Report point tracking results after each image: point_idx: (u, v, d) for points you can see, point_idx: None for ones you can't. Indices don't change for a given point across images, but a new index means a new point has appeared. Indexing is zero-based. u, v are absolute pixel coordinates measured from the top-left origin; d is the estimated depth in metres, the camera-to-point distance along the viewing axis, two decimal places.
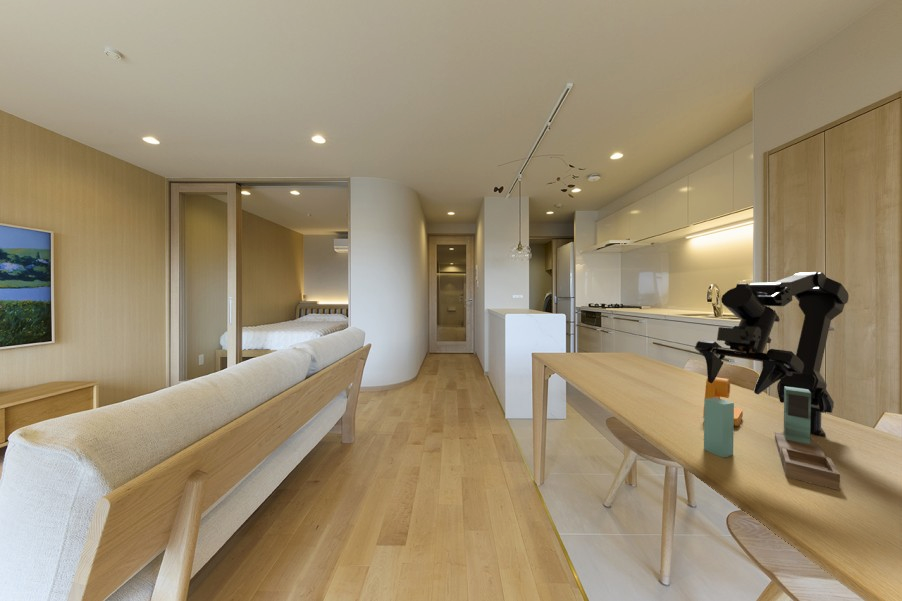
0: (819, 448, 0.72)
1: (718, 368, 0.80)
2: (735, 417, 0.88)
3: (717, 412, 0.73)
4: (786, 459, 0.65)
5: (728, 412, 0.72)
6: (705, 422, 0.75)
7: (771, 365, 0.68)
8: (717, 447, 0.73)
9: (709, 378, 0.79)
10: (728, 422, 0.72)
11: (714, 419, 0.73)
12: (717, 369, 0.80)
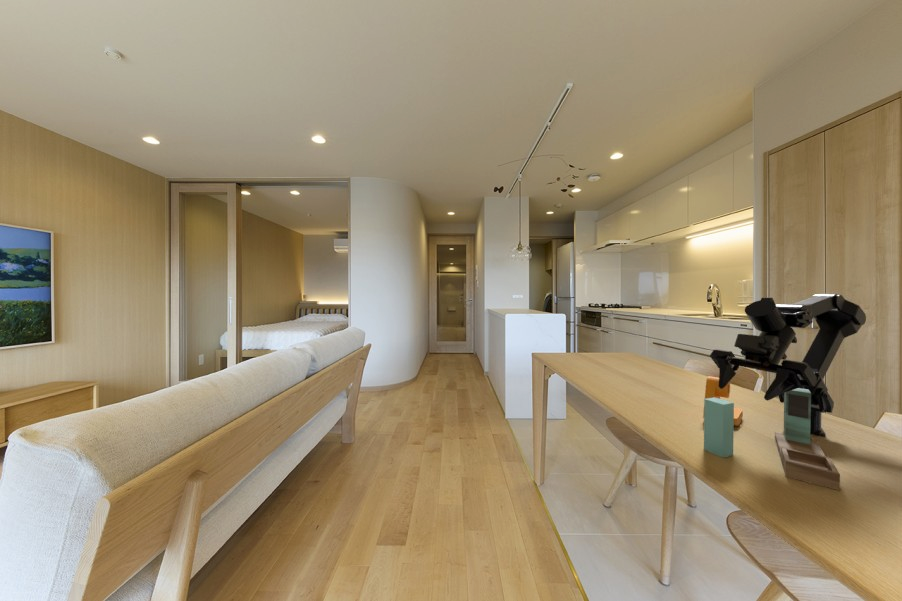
0: (819, 448, 0.72)
1: (730, 377, 0.82)
2: (735, 417, 0.88)
3: (717, 412, 0.73)
4: (786, 459, 0.65)
5: (728, 412, 0.72)
6: (705, 422, 0.75)
7: (784, 374, 0.71)
8: (717, 447, 0.73)
9: (720, 383, 0.81)
10: (728, 422, 0.72)
11: (714, 419, 0.73)
12: (729, 377, 0.82)
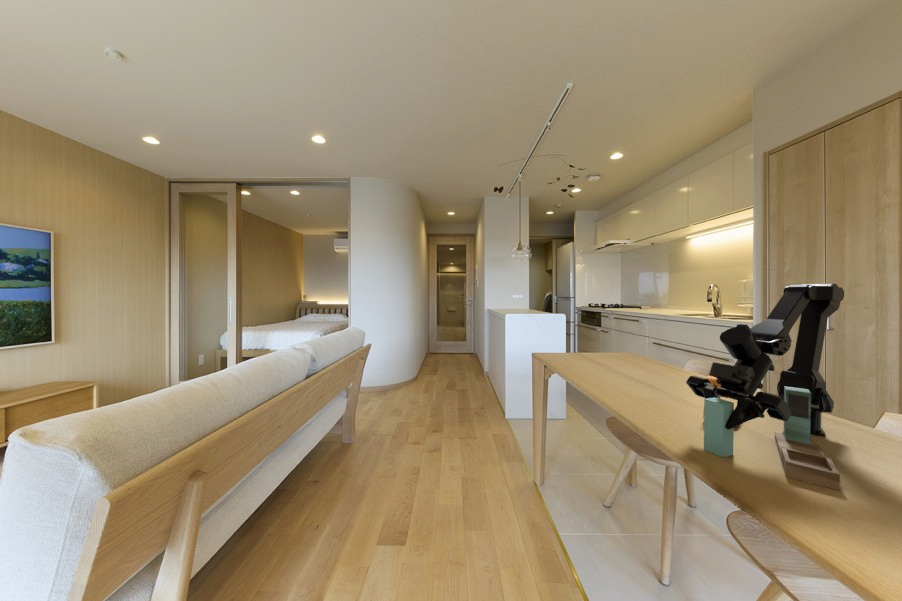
0: (819, 448, 0.72)
1: None
2: None
3: (717, 412, 0.73)
4: (786, 459, 0.65)
5: (728, 412, 0.72)
6: (705, 422, 0.75)
7: (744, 403, 0.71)
8: (717, 447, 0.73)
9: None
10: None
11: (714, 419, 0.73)
12: None
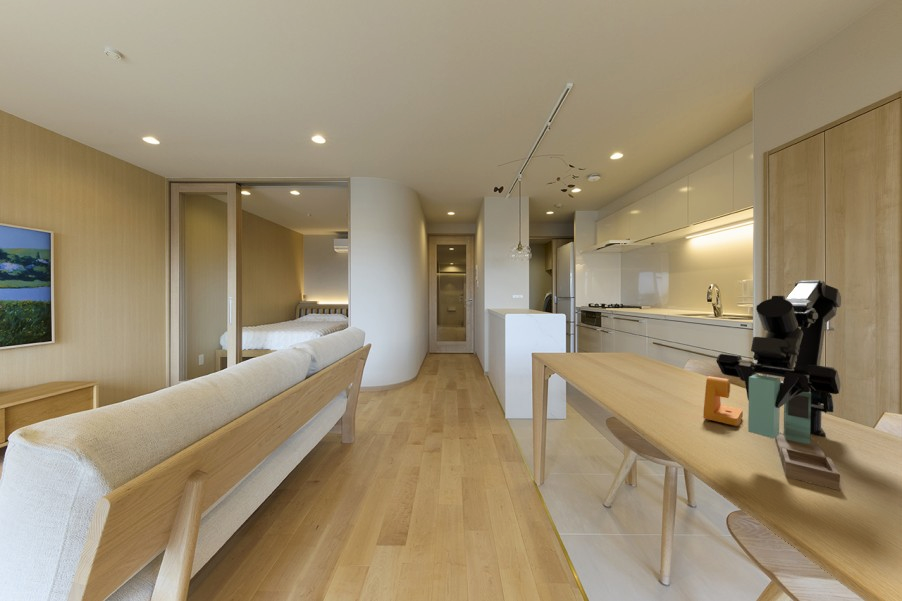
0: (819, 448, 0.72)
1: None
2: (735, 417, 0.88)
3: (766, 390, 0.67)
4: (786, 459, 0.65)
5: (777, 389, 0.67)
6: (750, 402, 0.69)
7: (794, 378, 0.66)
8: (766, 428, 0.67)
9: None
10: None
11: (762, 398, 0.67)
12: None
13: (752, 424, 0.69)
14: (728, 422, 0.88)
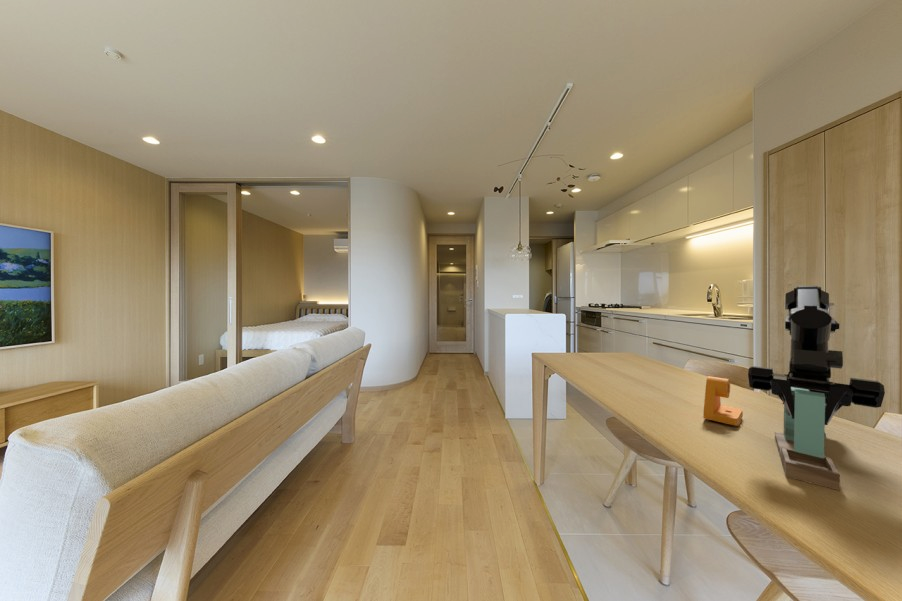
0: None
1: None
2: (735, 417, 0.88)
3: (815, 407, 0.63)
4: (786, 459, 0.65)
5: None
6: (796, 419, 0.65)
7: (840, 393, 0.63)
8: (815, 447, 0.63)
9: (793, 412, 0.66)
10: None
11: (810, 415, 0.63)
12: None
13: (798, 443, 0.65)
14: (728, 422, 0.88)
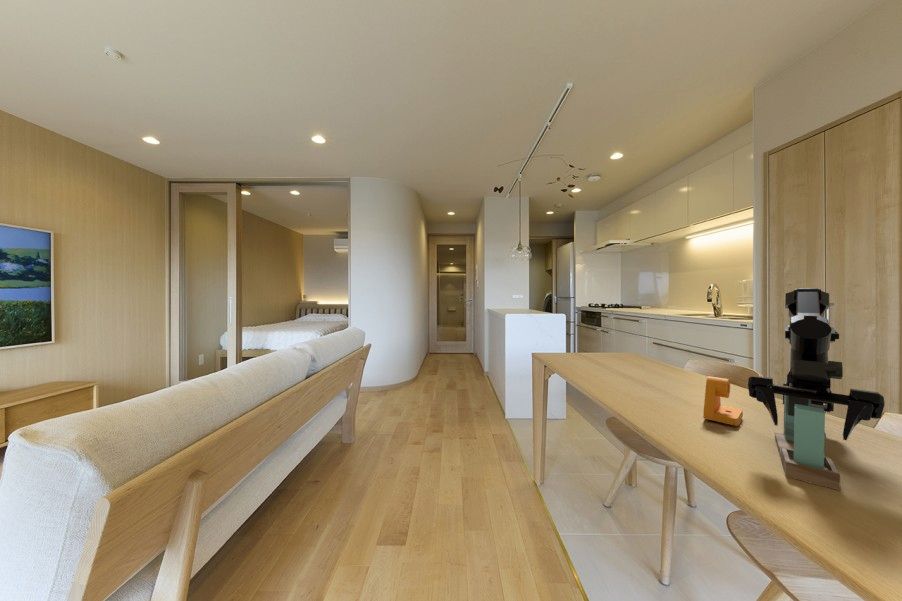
0: None
1: None
2: (735, 417, 0.87)
3: (815, 422, 0.63)
4: (786, 459, 0.65)
5: None
6: (796, 435, 0.65)
7: (860, 407, 0.61)
8: (815, 463, 0.63)
9: (776, 419, 0.68)
10: None
11: (810, 431, 0.63)
12: None
13: (798, 458, 0.65)
14: (728, 422, 0.88)
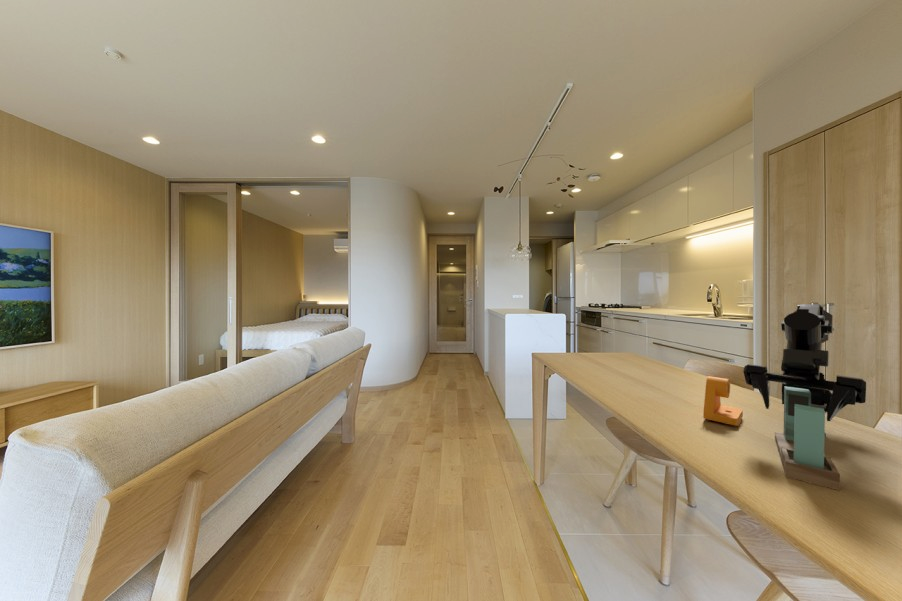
0: None
1: (768, 394, 0.77)
2: (735, 417, 0.88)
3: (815, 422, 0.63)
4: (786, 459, 0.65)
5: None
6: (796, 435, 0.65)
7: (843, 391, 0.67)
8: (815, 463, 0.63)
9: (767, 403, 0.74)
10: None
11: (810, 431, 0.63)
12: (768, 395, 0.76)
13: (798, 458, 0.65)
14: (728, 422, 0.88)
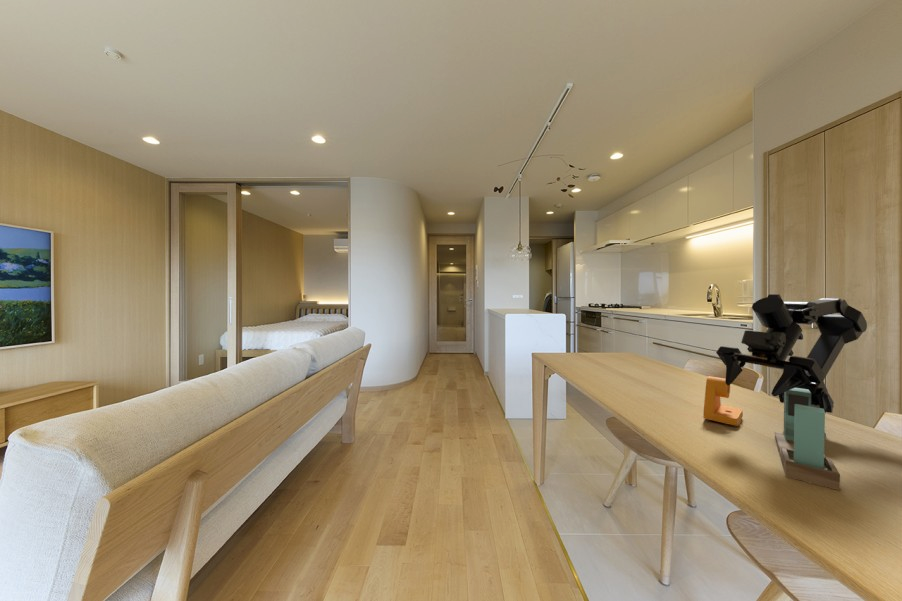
0: None
1: (737, 373, 0.83)
2: (735, 417, 0.88)
3: (815, 422, 0.63)
4: (786, 459, 0.65)
5: None
6: (796, 435, 0.65)
7: (792, 370, 0.71)
8: (815, 463, 0.63)
9: (727, 380, 0.81)
10: None
11: (810, 431, 0.63)
12: (736, 374, 0.83)
13: (798, 458, 0.65)
14: (728, 422, 0.88)
